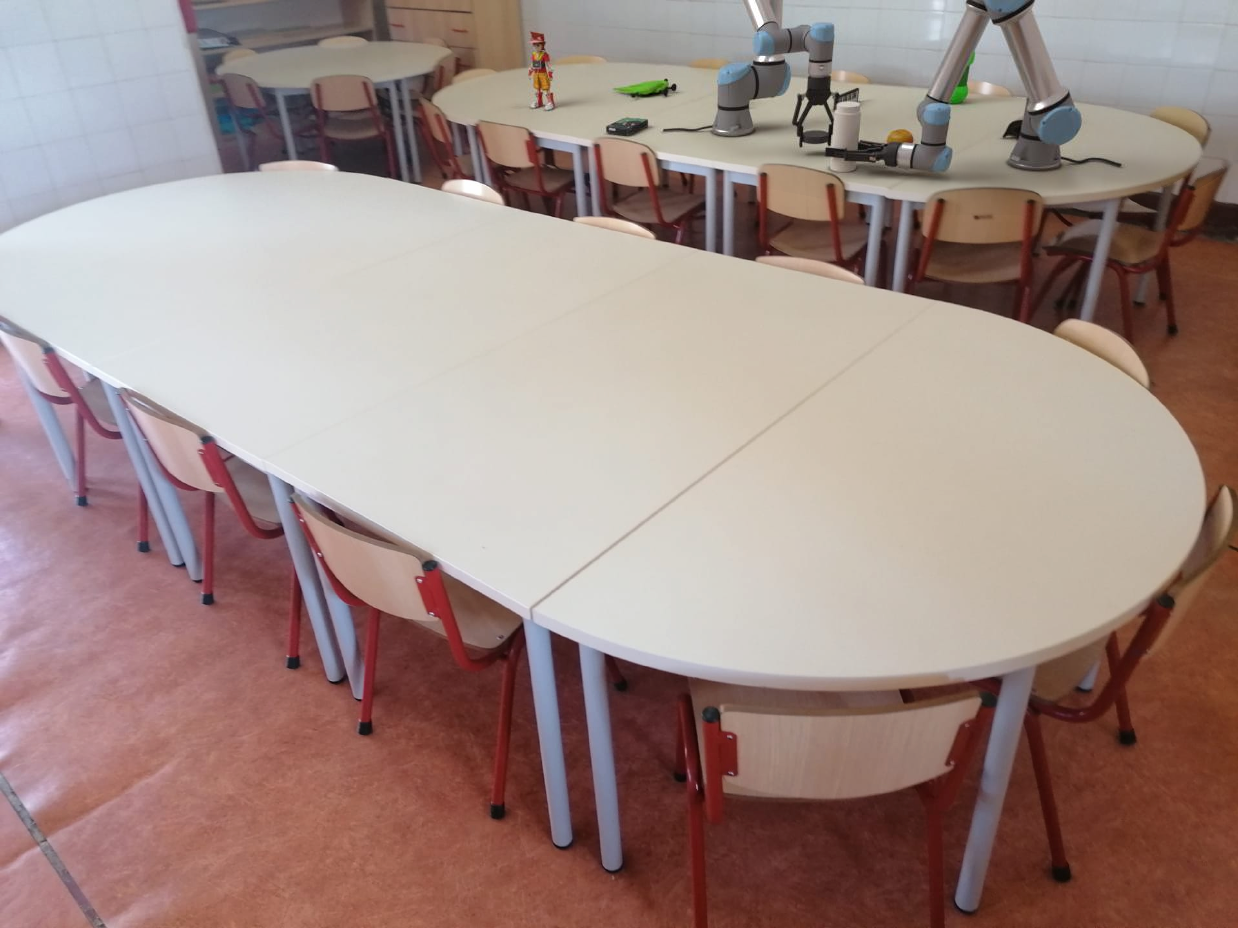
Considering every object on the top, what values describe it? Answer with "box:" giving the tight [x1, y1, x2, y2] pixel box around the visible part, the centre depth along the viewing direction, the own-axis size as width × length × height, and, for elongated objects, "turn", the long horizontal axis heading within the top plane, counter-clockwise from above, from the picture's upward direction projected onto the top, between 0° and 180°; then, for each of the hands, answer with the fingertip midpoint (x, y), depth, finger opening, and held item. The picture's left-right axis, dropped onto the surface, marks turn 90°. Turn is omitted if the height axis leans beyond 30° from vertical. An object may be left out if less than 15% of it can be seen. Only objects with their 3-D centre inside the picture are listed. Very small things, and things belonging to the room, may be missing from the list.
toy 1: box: [527, 31, 556, 111], centre depth 374 cm, size 12×9×30 cm
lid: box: [803, 129, 829, 145], centre depth 305 cm, size 9×9×2 cm
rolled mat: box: [1002, 115, 1024, 140], centre depth 316 cm, size 30×9×10 cm
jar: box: [829, 101, 862, 173], centre depth 288 cm, size 8×8×20 cm
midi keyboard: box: [832, 87, 860, 111], centre depth 357 cm, size 18×1×5 cm, turn 138°
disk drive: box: [605, 116, 649, 136], centre depth 345 cm, size 10×3×15 cm
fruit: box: [886, 128, 915, 144], centre depth 303 cm, size 8×8×8 cm
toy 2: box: [612, 78, 677, 99], centre depth 396 cm, size 28×5×30 cm
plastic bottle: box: [949, 50, 976, 104], centre depth 348 cm, size 10×10×25 cm
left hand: (814, 145), depth 306 cm, fingers closed on lid, 9 cm apart
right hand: (830, 148), depth 292 cm, fingers closed on jar, 8 cm apart
